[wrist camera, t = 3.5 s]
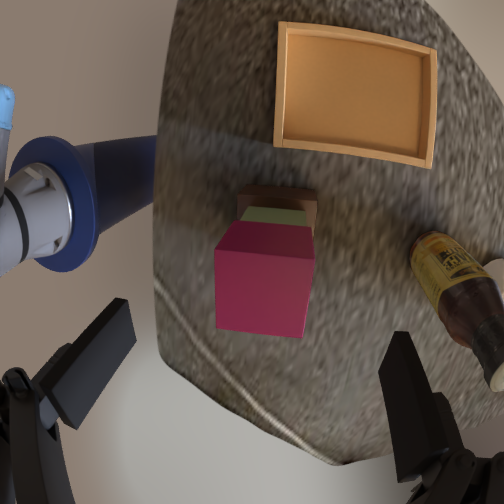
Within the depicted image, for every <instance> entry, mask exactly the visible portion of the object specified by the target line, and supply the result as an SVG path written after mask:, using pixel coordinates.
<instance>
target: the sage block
mask: <svg viewBox="0 0 504 504" xmlns="http://www.w3.org/2000/svg"><path fill="white" fill-rule="evenodd" d="M240 220H241V221H253V222H264V223H276V224H287V225H297V226H307V222H306V212H305V211H299V210H289V209H278V208H266V207H253V206H248V208H247V209H246V211H245V212H244V214H243V216H242V217H241V219H240Z"/></svg>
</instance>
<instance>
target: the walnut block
mask: <svg viewBox="0 0 504 504" xmlns="http://www.w3.org/2000/svg"><path fill="white" fill-rule="evenodd" d="M248 206H253V207H266V208H278V209H289V210H299V211H305V212H306V222H307V227H311V231H312V238H313V240H314V232H315V223H316V215H317V206H318V200H317V197H316V193H315V190H311V189H301V188H290V187H279V186H266V185H252V184H247V185H246V186H245V187H244V188H243V189H242V190H241V191H240V192H239V193H238V195H237V220H240V219H241V217H242V216H243V214H244V212H245V211H246V209H247V208H248Z"/></svg>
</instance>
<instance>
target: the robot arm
mask: <svg viewBox="0 0 504 504" xmlns="http://www.w3.org/2000/svg"><path fill="white" fill-rule="evenodd" d="M14 103H15V96H14V92H13V90H12V89H11V88H10V87H8V86H6V85H3V84H0V277H1V276H2V275H4V274H5V273H7V272H8V271H9V270H11V269H12V268H13V267H15V266H16V265H18V264H19V263H21V262H22V261H24V260H26V259H33V258H39V257H45V256H50V255H53V254H56V253H58V252H59V251H61V250H62V249H64V248H65V247H66V246H67V245H68V244H69V242H70V240H71V238H72V236H73V232H74V227H75V209H74V203H73V199H72V195H71V192H70V189H69V187H68V185H67V183H66V181H65V179H64V177H63V176H62V175H61V173H60V172H59V171H58V170H57V169H56V168H55V167H54V166H52V165H51V164H49V163H46V162H35V163H32V164H29V165H27V166H25V167H23V168H22V169H20V170H19V171H18V172H17V173H15V174H14V175H13V176H12V177H11V178H9V179H8V180H7V181H6V182H5V168H6V157H7V149H8V141H9V135H10V130H11V129H12V124H11V122H12V114H13V108H14ZM4 182H5V183H4ZM136 341H137V340H136V336H135V332H134V327H133V323H132V319H131V314H130V309H129V304H128V300H126V299H121V298H115V299H114V300H113V301H112V302H111V303H110V304H109V305H108V306H107V307H106V308H105V309H104V310H103V311H102V312H101V313H100V314H99V315H98V317H96V319H95V320H94V321H93V322H92V323H91V324H90V325H89V326H88V327H87V328H86V329H85V330H84V331H83V333H82V334H81V335H80V336H79V337H78V338H77V339H76V340H75V341H74V342H73V344H70V343H67V344H65V345H64V346H62V347H60V348H59V349H58V350H57V351H56V352H55V354H54V355H53V356H52V357H51V358H50V359H49V361H48V362H46V364H45V365H44V366H43V367H42V368H41V369H40V371H39V372H38V373H37V374H36V375H35V376H34V377H33V378H32V380H31V381H30V379H29V377H28V376H27V374H26V372H25V371H24V370H23V369H22V368H19V367H14V368H11V369H9V370H8V371H6V372H5V374H4V375H3V377H2V382H3V383H4V384H3V383H2V382H1V380H0V504H15V500H16V501H17V504H75V501H74V497H73V494H72V490H71V486H70V482H69V478H68V475H67V470H66V465H65V461H64V456H63V451H62V446H61V440H60V433H59V426H58V423H57V421H56V420H57V418H58V417H60V418H61V420H62V421H63V423H64V424H66V425H68V426H70V427H72V428H74V429H76V430H77V429H78V428H79V426H80V425H81V423H82V422H83V420H84V418H85V417H86V415H87V414H88V412H89V411H90V409H91V407H92V406H93V405H94V403H95V402H96V400H97V399H98V397H99V395H100V394H101V392H102V391H103V389H104V388H105V386H106V385H107V383H108V382H109V380H110V379H111V378H112V376H113V374H114V373H115V372H116V370H117V369H118V367H119V366H120V364H121V363H122V361H123V360H124V359H125V357H126V355H127V354H128V353H129V351H130V350H131V348H132V347H133V346H134V344H135V343H136ZM378 374H379V378H380V383H381V387H382V392H383V396H384V401H385V406H386V411H387V416H388V422H389V427H390V433H391V439H392V445H393V451H394V458H395V464H396V473H397V481H398V483H402V482H409V481H414V480H416V478H418V477H419V476H420V475H422V482H420V483H419V484H418V485H417V486H416V487H414V488H413V489H412V490H411V492H414V491H415V492H414V493H413V495H412V496H411V497H410V499H409V500H408V502H407V503H406V504H504V452H499V453H497V454H496V455H495V456H494V457H493V458H478V457H475V455H474V453H472V452H471V451H470V450H468V449H465V448H464V446H463V443H462V439H461V436H460V433H459V430H458V427H457V424H456V421H455V419H454V415H453V412H451V410H452V409H451V407H450V404H449V401H448V400H447V398H446V397H445V396H444V395H443V394H442V392H437V393H432V390H431V388H430V385H429V382H428V379H427V377H426V374H425V371H424V369H423V366H422V364H421V361H420V358H419V356H418V354H417V351H416V349H415V346H414V344H413V341H412V339H411V337H410V334H409V332H405V331H394V334H393V336H392V339H391V342H390V344H389V347H388V349H387V352H386V354H385V357H384V359H383V361H382V364H381V366H380V368H379V371H378Z"/></svg>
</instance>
